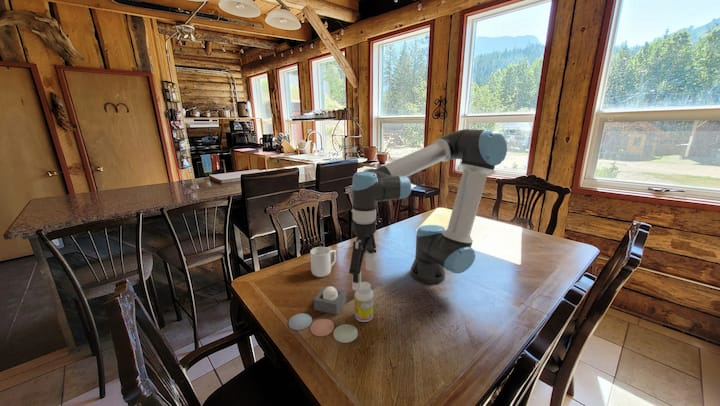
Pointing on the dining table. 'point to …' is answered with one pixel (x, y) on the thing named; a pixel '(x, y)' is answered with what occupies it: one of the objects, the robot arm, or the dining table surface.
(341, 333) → the pad
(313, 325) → the pad
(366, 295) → the supplement bottle
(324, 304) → the housing
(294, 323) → the pad
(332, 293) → the white ovoid
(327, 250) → the mug
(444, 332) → the dining table surface
